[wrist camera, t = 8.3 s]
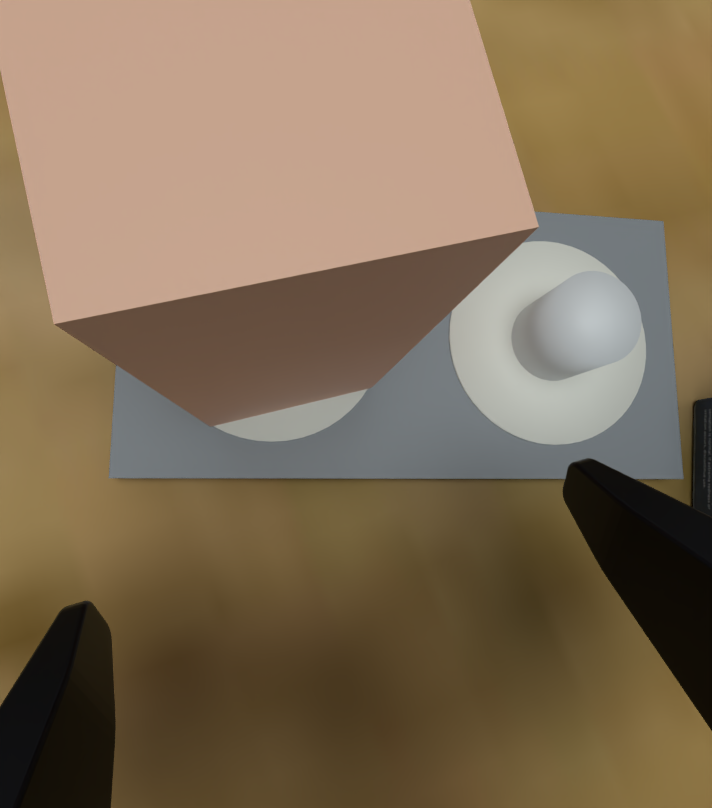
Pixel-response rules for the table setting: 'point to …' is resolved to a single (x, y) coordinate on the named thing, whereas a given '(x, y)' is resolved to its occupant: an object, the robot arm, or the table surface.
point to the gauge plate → (471, 383)
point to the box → (703, 456)
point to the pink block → (259, 185)
